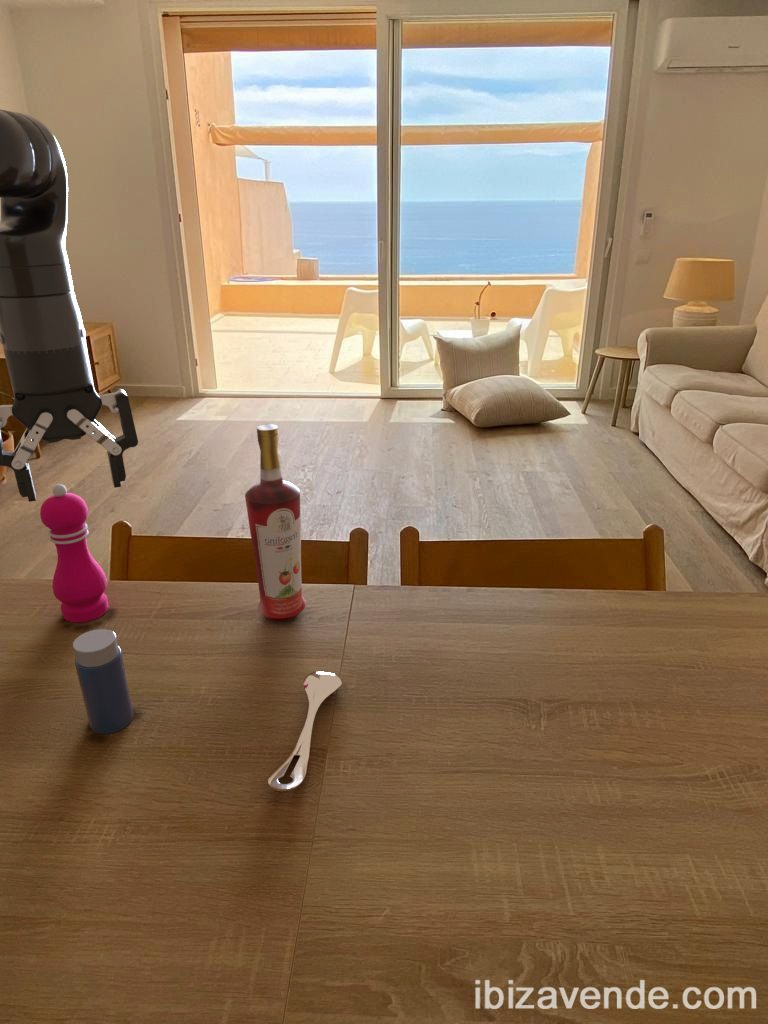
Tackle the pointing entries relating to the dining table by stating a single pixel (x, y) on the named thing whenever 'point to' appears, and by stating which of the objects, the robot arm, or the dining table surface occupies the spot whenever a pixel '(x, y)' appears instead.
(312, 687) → the ice cream scoop
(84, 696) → the cylinder
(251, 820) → the dining table surface
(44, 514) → the pepper mill
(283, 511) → the liquor
